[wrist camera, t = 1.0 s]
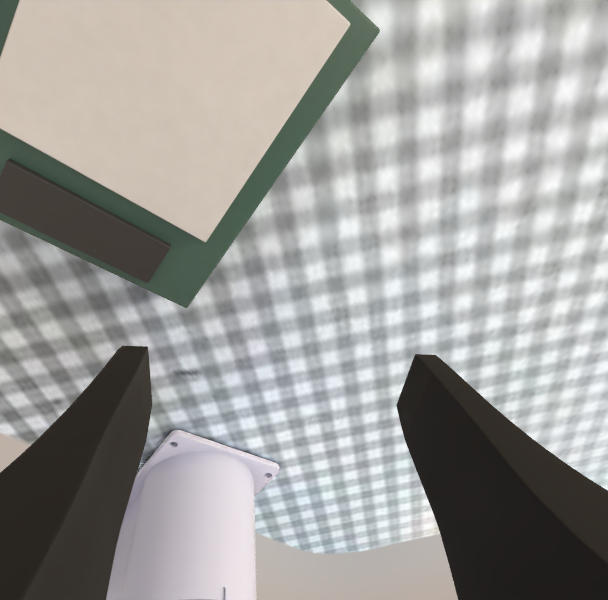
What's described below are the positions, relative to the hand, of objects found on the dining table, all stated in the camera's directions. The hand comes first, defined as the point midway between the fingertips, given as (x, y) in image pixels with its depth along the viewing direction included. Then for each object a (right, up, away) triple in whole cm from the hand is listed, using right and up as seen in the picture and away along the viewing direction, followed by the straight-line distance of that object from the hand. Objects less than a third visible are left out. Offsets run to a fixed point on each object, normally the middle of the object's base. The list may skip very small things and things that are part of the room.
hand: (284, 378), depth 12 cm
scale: (-5, +10, +4) cm, 12 cm away
